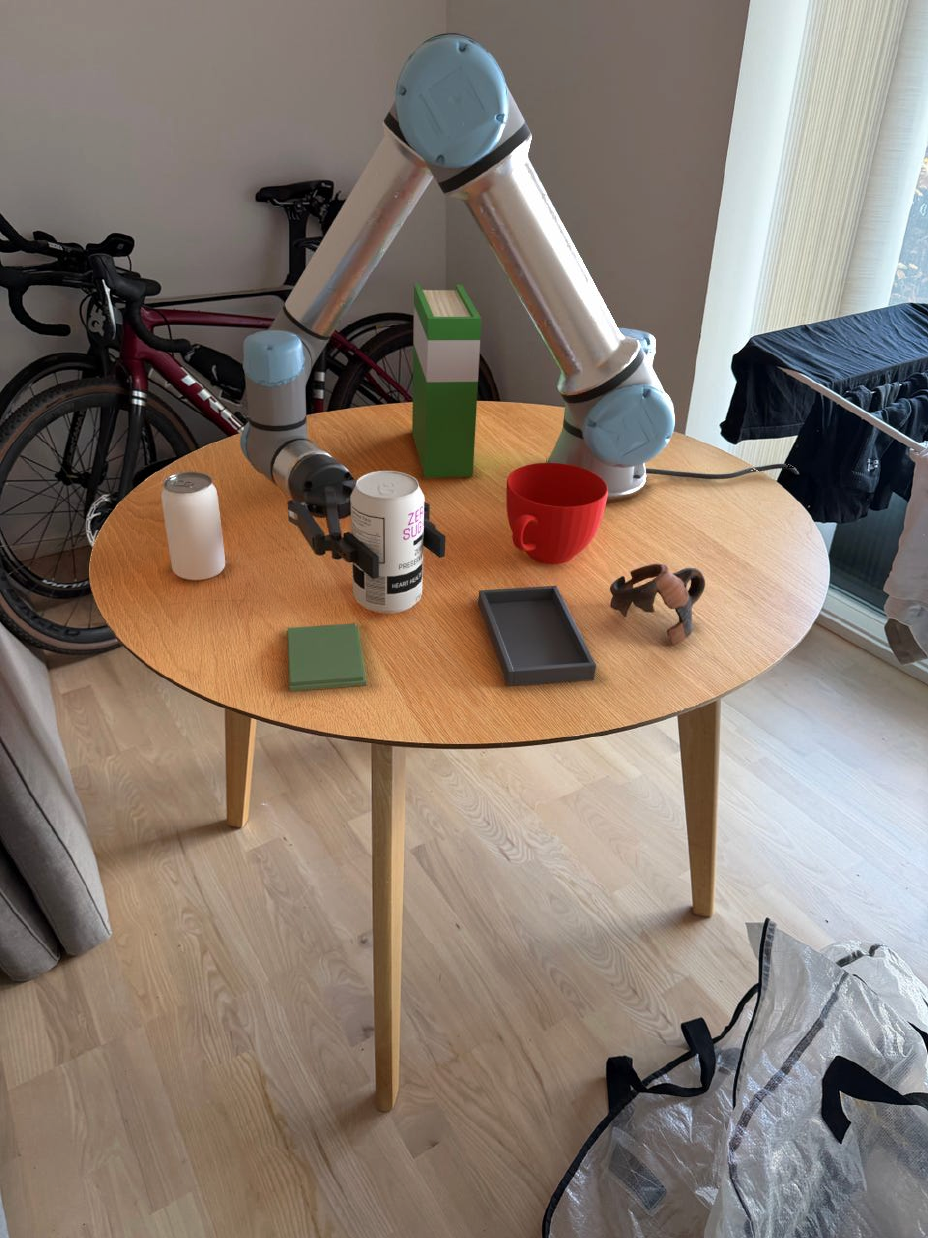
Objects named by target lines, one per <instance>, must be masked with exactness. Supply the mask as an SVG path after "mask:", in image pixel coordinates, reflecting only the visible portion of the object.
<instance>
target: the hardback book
mask: <svg viewBox="0 0 928 1238" xmlns="http://www.w3.org/2000/svg"><path fill="white" fill-rule="evenodd" d="M481 335H482V317H481V315H480V314H479V312H478V310H477V308H476V306H475V305H474V303H473V301H472V299H471V298H470V296H469V294H468V293H467V291H466V289H465V288H464V286H463V284H455V289H423V288H422V286H421V284H413V337H412V338H413V339H412V340H413V341H412V342H413V344H412V345H413V346H412V347H413V349H412V350H413V351H412V412H411V413H412V415H411V417H412V418H411V419H412V420H411V421H412V422H411V424H412V425H411V432H412V436H413V440H414V445H415V448H416V451H417V455H418V459H419V462H420V465H421V470H422V474H423V477H424V479H437V478H439V479H440V478H441V479H442V478H473V477H474V462H475V446H476V445H475V444H476V426H477V425H476V424H477V405H478V391H479V390H478V388H479V387H478V386H479V372H480V371H479V369H480V351H481Z"/></svg>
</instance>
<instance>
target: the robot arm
mask: <svg viewBox="0 0 928 1238" xmlns="http://www.w3.org/2000/svg"><path fill="white" fill-rule="evenodd" d="M381 124H382V130H383V137H382V139H381V141H380V143H379V144H378V147H376V149H375V151H374V153H373V154H372V156H371V158H370V159H369V161H368V162H367V164H366V166H365V167H364V170H363V171H362V172H361V174H360V176H359V178H358V180H357V181H356V183H355V184H354V186H353V188H352V190H351V191H350V193H349V195H348V197H346V200H345V202H344V203H343V205H342V206H341V208H340V210H339V211H338V213H337V215H336V217H335V218H334V220H333V221H332V224H331V225H330V226H329V228H328V230H327V231H326V232H325V235H324V236H323V238H322V240H321V242H320V244H319V245H318V246H317V249H316V250H315V252H314V254H313V255H312V257H311V259H310V260H309V261H308V263H307V265H306V267H305V269H304V270H303V272H302V274H301V275H300V277H299V279H298V280H297V282H296V283H295V285H294V287H293V289H292V290H291V292H290V294H289V296H288V297H287V299H286V300H285V302H284V305H283V306H282V308H281V309H280V311H279V312H278V314H277V315H276V317H275V319H274V320H273V321H272V322H271V324H270V325H269V327H268V328H267V330H260V331H256V332H254V333H253V334H252V333H251V334H249V335H248V336H246V338H245V339H244V341H243V343H242V344H243V345H242V351H243V352H242V353H243V361H242V369H243V371H244V380H245V389H246V399H247V408H248V422H246V424H245V425H244V427H243V429H242V432H241V434H240V438H239V445H240V450H241V453H242V454H243V456H244V458H245V459H246V460H247V462H249V463H250V465H251V466H252V467H253V469H254V470H255V471H257V472H258V473H260V474H261V475H263V477H265V478H266V479H267V480H269V481H270V482H271V483H272V484H274V485H275V487H277V488H278V489H279V490H280V491H282V492H283V494H285V495H286V496H287V497H288V498H289V499H290V500H287V503H286V504H287V506H286V507H287V518H288V522H289V523H291V524H292V525H294V526H296V527H297V528H298V529H299V531H300V532H301V535H302V536H303V538H304V539H305V540H306V542H307V544H308V545H309V547H310V548H311V550H312V551H313V553H314V554H315V555H316V556H319V557H321V556H324V555H325V554H326V552H331V558H332V560H336V561H338V560H342V559H343V560H344V561H345V562H347V563H349V564H352V562H354V563H355V564H356V565H357V566H358V567H360V568H361V569H362V570H363V571H364V572H365V573H366V574H367V575H369V576H370V577H371V578H372V579H376V578H379V556H378V555H376V554H375V553H374V552H373V551H372V550H370V549H369V548H368V547H367V546H366V545H365V544H363V543H362V542H361V541H359V540H358V539H357V538H356V537H355V536H354V535H353V534H351V531H346V532H343V533H342V527H341V522H340V520H343V519H346V518H348V517H351V501H350V496H351V494H352V492H353V490H354V488H355V486H356V482H357V480H356V479H355V478H354V477H353V475H352V473H351V472H350V470H349V469H348V468H347V466H345V465H343V464H342V463H341V462H340V461H338V460H337V459H336V458H334V457H333V456H332V455H330V454H329V453H328V452H327V451H325V450H324V449H322V447H320V446H318V445H317V444H316V443H314V441H312V440H311V439H309V437H308V436H309V435H308V421H307V420H308V418H307V417H308V416H307V400H306V399H307V398H306V387H307V386H306V385H307V384H308V380H309V378H310V376H311V373H312V370H313V367H314V365H315V363H316V362H317V360H318V358H319V356H320V355H321V353H322V352H323V350H324V349H325V347H326V346H327V344H328V342H329V341H330V339H331V337H332V335H333V334H334V333H335V331H336V329H337V328H338V326H339V325H340V323H341V321H342V320H343V319H344V317H345V315H346V314H347V312H348V310H349V309H350V308H351V306H352V304H353V303H354V301H355V299H356V298H357V296H358V295H359V293H360V292H361V291H362V289H363V288H364V286H365V284H366V283H367V281H368V279H369V278H370V276H371V275H372V273H373V272H374V270H375V268H376V267H377V266H378V264H379V262H380V261H381V260H382V258H383V256H384V255H385V253H386V251H387V250H388V249H389V247H390V245H391V244H392V243H393V241H394V239H395V237H396V236H397V235H398V233H399V231H400V230H401V228H402V227H403V225H404V223H405V222H406V220H407V219H408V218H409V216H410V214H412V211H413V210H414V207H415V206H416V205H417V203H418V202H419V200H420V199H421V198H422V195H423V194H424V193H425V191H426V190H427V188H428V186H429V184H430V183H431V181H432V180H433V178H434V179H435V181H436V183H437V185H438V187H439V188H440V190H441V192H442V194H443V195H444V196H445V197H450V198H453V199H457V200H460V201H462V202H463V203H464V205H465V206H466V208H467V210H468V211H469V213H470V215H471V217H472V218H473V220H474V222H475V223H476V225H477V227H478V229H479V230H480V232H481V234H482V236H483V238H484V239H485V241H486V243H487V245H488V246H489V248H490V250H491V251H492V253H493V256H494V257H495V259H496V260H497V262H498V263H499V265H500V267H501V269H502V271H503V272H504V275H505V276H506V278H507V279H508V281H509V283H510V284H511V286H512V288H513V290H514V291H515V293H516V295H517V297H518V299H519V300H520V302H521V304H522V306H523V307H524V309H525V311H526V312H527V314H528V316H529V318H530V319H531V321H532V323H533V324H534V326H535V328H536V330H537V331H538V333H539V335H540V337H541V338H542V340H543V342H544V344H545V346H546V347H547V349H548V350H549V353H550V354H551V356H552V357H553V359H554V361H555V363H556V365H557V366H558V368H559V370H560V374H559V377H558V381H557V386H556V387H557V390H558V392H559V394H560V396H561V397H562V400H563V401H564V402H565V403H564V410H563V412H564V413H563V421H562V427H561V431H560V434H559V435H558V438H557V440H556V442H555V444H554V447H553V448H552V451H551V452H550V455H549V457H548V458H547V457H545V463H562V464H568V465H573V466H578V467H581V468H584V469H587V470H589V471H591V472H593V473H595V474H597V475H598V476H600V477H601V478H602V479H603V480H604V481H605V483H606V484H607V488H608V495H607V501H606V503H615V502H616V503H617V502H622V501H627V500H630V499H633V498H635V497H637V496H639V495H640V494H641V493H643V491H644V488H645V486H646V479H647V474H650V475H661V476H670V477H681V478H690V479H691V478H693V479H703V480H727V479H734V478H738V477H742V476H744V475H748V474H751V473H757V472H756V470H758V471H759V472H766V471H772V470H778V469H779V470H781V469H782V470H787V471H789V472H791V473H792V474H793V475H800V473H799V471H798V470H797V468H796V467H794V468H787V467H788V465H789V464H788V465H786V464H787V463H772V464H765V465H760V466H752V467H753V468H755V469H756V470H754V469H753V468H752V467H747V468H744V469H740V470H737V471H734V472H729V473H701V472H693V471H692V472H690V471H681V470H670V469H661V468H648V467H646V463H649V462H650V461H651V460H653V459H655V458H656V457H657V456H658V455H659V454H660V453H661V452H663V450H664V449H665V448H666V447H667V446H668V444H669V442H670V440H671V438H672V435H673V434H674V431H675V424H676V417H675V408H674V403H673V401H672V400H671V397H670V396H669V395H668V394H667V393H666V392H665V390H664V388H663V386H662V384H661V381H660V380H659V378H658V376H657V374H656V372H655V370H654V368H653V364H654V363H653V362H654V357H655V355H656V353H657V350H656V338H655V337H654V335H652V334H651V333H649V332H646V331H642V330H638V329H634V328H626V327H617V324H616V323H615V320H614V319H613V317H612V315H611V313H610V311H609V309H608V308H607V305H606V303H605V302H604V299H603V297H602V296H601V294H600V292H599V291H598V288H597V286H596V285H595V283H594V280H593V279H592V277H591V275H590V273H589V271H588V269H587V268H586V265H585V263H584V262H583V259H582V258H581V256H580V254H579V252H578V250H577V248H576V247H575V244H574V243H573V241H572V239H571V237H570V235H569V233H568V231H567V230H566V228H565V226H564V223H563V222H562V220H561V218H560V216H559V214H558V212H557V210H556V208H555V206H554V205H553V202H552V201H551V199H550V196H549V195H548V193H547V191H546V189H545V187H544V185H543V183H542V181H541V180H540V178H539V175H538V174H537V172H536V170H535V168H534V166H533V164H532V163H531V161H530V159H529V154H528V153H529V150H530V145H531V141H532V137H533V134H532V132H531V130H530V128H529V126H528V124H527V122H526V120H525V118H524V116H523V114H522V113H521V111H520V109H519V107H518V105H517V103H516V101H515V99H514V97H513V95H512V93H511V90H510V89H509V88H508V85H507V82H506V78H505V76H504V74H503V71H502V69H501V67H500V65H499V64H498V62H497V61H496V59H495V57H494V56H493V55H492V54H491V52H489V51H488V50H487V49H486V48H485V46H483V45H482V44H481V43H480V42H479V41H477V40H476V39H474V38H473V37H471V36H468V35H465V34H462V33H457V32H445V33H441V34H436V35H434V36H432V37H430V38H429V39H427V40H425V41H424V42H423V43H421V44H420V45H419V46H418V47H417V48H416V49H415V50H414V51H413V52H412V53H410V54H409V56H408V57H407V59H406V61H405V62H404V63H403V67H402V68H401V70H400V72H399V75H398V77H397V81H396V86H395V97H394V101H393V103H392V106H391V107H390V109H389V111H388V112H387V114H386V116H385V118H384V119H383V121H382V123H381ZM790 466H791V465H790ZM790 466H789V467H790ZM784 467H785V468H784ZM751 470H753V471H751ZM430 517H431V504H430V503H428V502H426V501H424V536H423V548H425V549H427V550H428V551H429V552H431V553H432V554H433V555H434V556H436V557H437V558H438V559H442V558H445V557H446V538H447V536H446V535H445V534H444V533H443V532H441V531H440V530H438V528H437V525H436V524H435V523H434V522H432V521H431V520H430ZM315 518H317V519H318V518H319V519H325V522H326V528H327V533H328V534H325V532H324V531H323V529H322V528H321V526H320V525H319V523H318V522H317V520H316V519H315ZM342 534H343V536H342Z"/></svg>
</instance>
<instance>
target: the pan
mask: <svg viewBox="0 0 928 1238" xmlns="http://www.w3.org/2000/svg"><path fill="white" fill-rule="evenodd" d="M477 605H478V609H479V611H480V614H481V617H482V619H483V623H484V625H485V628H486V630H487V633H488V635H489V638H490V642H491V644H492V647H493V650H494V653H495V655H496V658H497V661H498V664H499V667H500V669H501V672H502V675H503V678H504V680H505V683H506V686H507V687H508V688H509V687H519V686H521V687H522V686H533V685H534V686H535V685H545V684H557V683H558V684H559V683H570V682H571V683H572V682H582V681H594V680H595V677H596V670H597V663H596V662H595V659H594V658H593V656H592V655H593V654H592V653H591V651H590V650H589V647H588V645H587V644H586V641H585V639H584V638H583V636H582V634H581V631H580V629H579V628H578V626H577V624H576V622H575V619H574V617H573V616H572V614H571V612H570V610H569V608H568V606H567V603H566V601H565V600H564V598H563V595H562V594H561V592H560V590H559V587H558V586H557V585H544V586H542V585H541V586H528V587H526V586H525V587H511V588H497V589H495V588H494V589H480V590H478V597H477Z"/></svg>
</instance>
